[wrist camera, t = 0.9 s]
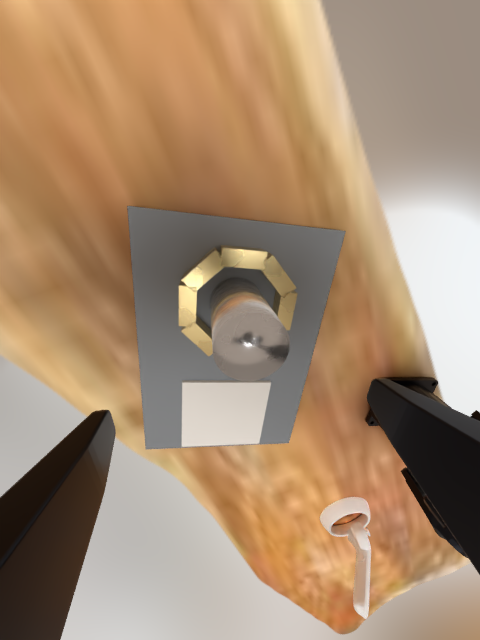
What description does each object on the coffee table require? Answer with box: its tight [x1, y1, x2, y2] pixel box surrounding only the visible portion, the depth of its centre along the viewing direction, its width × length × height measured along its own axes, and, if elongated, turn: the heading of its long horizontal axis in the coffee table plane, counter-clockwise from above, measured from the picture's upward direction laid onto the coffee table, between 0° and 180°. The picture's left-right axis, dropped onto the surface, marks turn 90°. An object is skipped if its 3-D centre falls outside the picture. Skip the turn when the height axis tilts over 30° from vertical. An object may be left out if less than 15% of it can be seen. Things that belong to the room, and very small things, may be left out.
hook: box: [320, 497, 371, 619], centre depth 33 cm, size 8×12×7 cm
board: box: [127, 206, 346, 449], centre depth 21 cm, size 15×22×1 cm
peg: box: [210, 277, 290, 381], centre depth 15 cm, size 4×4×7 cm
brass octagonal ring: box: [179, 245, 298, 356], centre depth 18 cm, size 8×8×2 cm
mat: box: [182, 380, 271, 447], centre depth 23 cm, size 8×8×1 cm
